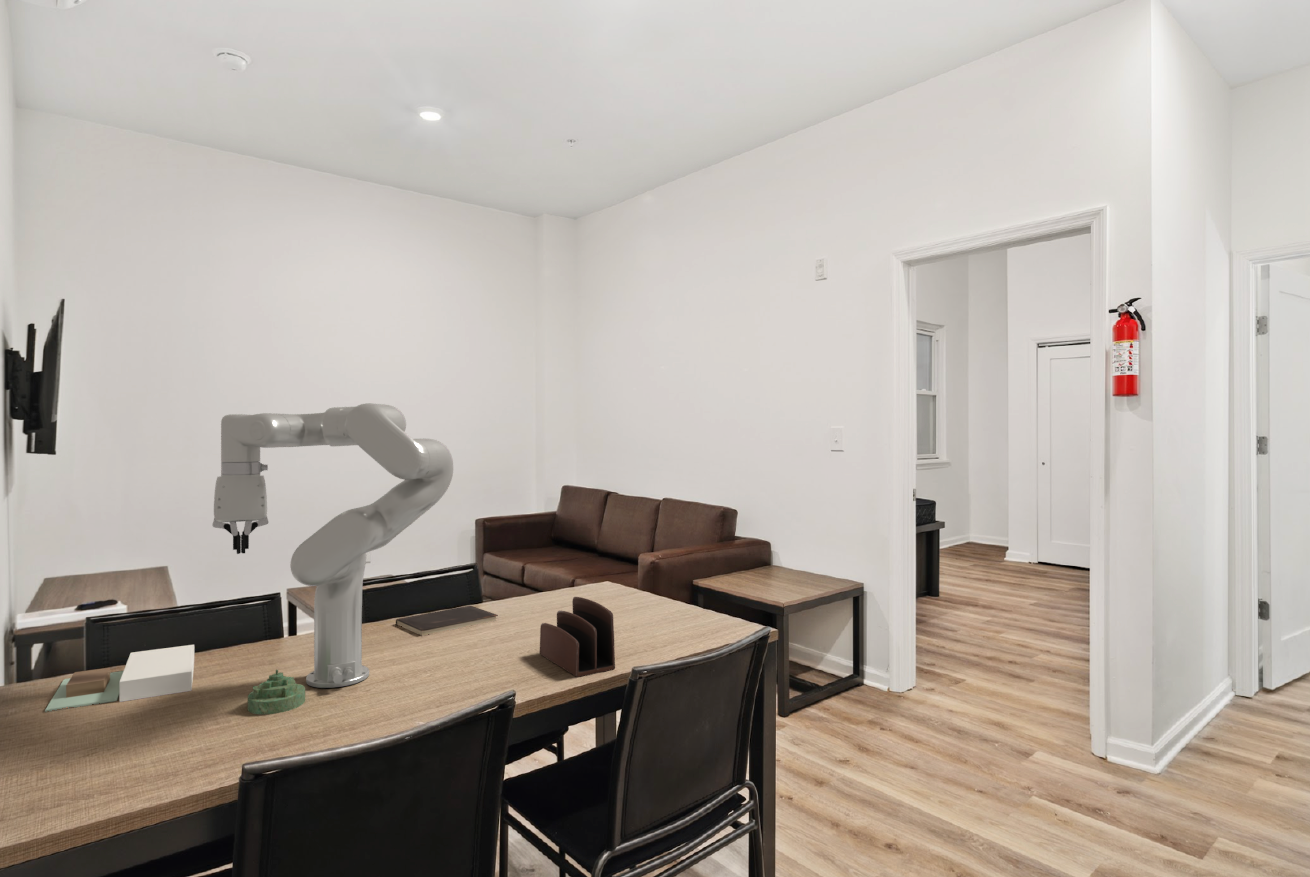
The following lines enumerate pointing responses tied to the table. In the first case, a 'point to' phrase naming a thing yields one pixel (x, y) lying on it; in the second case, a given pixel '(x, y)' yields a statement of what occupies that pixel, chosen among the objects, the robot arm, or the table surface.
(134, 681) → the block
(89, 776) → the table surface
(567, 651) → the letter holder
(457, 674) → the table surface
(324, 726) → the table surface
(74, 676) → the walnut tile
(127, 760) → the table surface
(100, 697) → the mat
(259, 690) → the decorative artifact
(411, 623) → the hardcover book
